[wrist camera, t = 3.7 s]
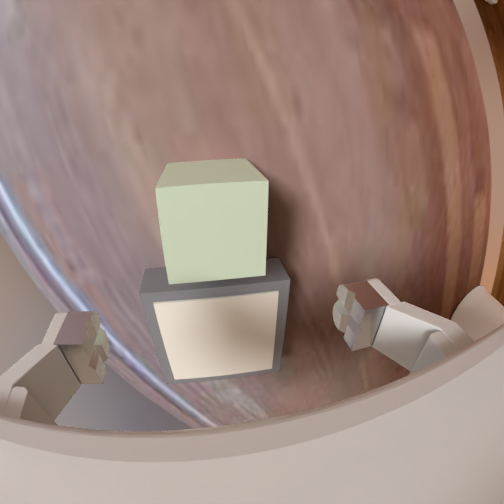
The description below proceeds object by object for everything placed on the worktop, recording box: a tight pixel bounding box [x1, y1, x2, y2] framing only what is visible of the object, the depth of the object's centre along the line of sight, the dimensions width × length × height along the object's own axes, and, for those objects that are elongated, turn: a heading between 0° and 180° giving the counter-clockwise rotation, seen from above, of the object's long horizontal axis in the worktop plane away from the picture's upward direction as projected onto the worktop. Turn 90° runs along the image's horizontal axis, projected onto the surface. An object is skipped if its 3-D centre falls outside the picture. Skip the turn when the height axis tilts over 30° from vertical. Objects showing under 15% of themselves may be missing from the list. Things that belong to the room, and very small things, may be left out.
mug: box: [451, 285, 504, 342], centre depth 28 cm, size 12×8×12 cm
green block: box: [155, 159, 269, 284], centre depth 16 cm, size 5×5×6 cm
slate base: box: [140, 258, 290, 384], centre depth 22 cm, size 10×10×3 cm
